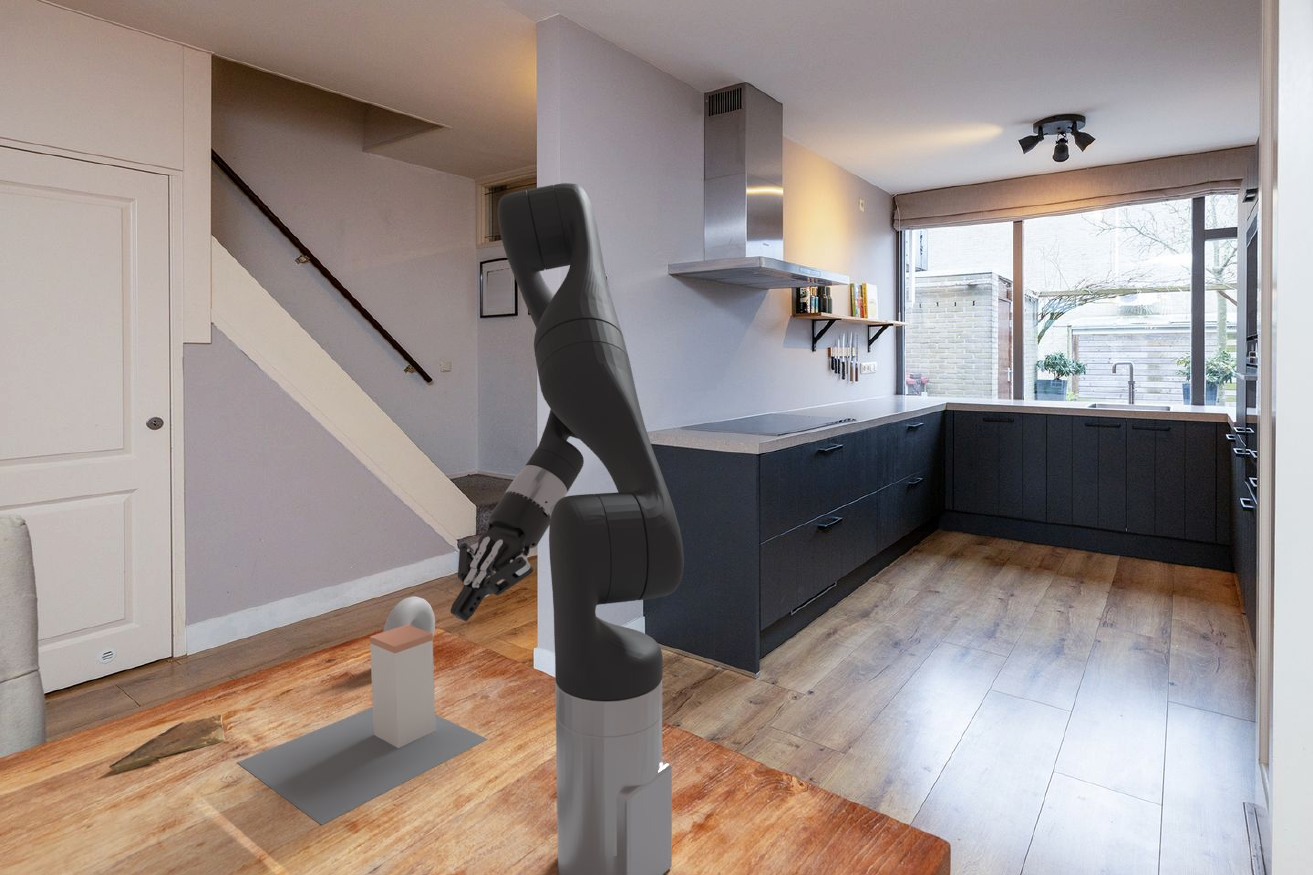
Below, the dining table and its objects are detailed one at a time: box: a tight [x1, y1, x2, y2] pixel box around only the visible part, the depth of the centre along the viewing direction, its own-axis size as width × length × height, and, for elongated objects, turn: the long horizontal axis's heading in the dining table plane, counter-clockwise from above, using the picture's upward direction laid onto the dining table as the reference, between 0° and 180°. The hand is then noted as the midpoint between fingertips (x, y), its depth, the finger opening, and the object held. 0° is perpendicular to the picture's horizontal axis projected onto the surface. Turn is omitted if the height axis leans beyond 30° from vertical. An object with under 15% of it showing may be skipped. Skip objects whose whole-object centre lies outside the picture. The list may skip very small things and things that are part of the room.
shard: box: [108, 713, 226, 774], centre depth 85 cm, size 11×8×2 cm
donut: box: [382, 595, 436, 636], centre depth 107 cm, size 10×4×10 cm, turn 162°
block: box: [369, 624, 436, 748], centre depth 86 cm, size 5×5×12 cm
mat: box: [236, 706, 489, 826], centre depth 83 cm, size 18×20×1 cm
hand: (458, 616), depth 92 cm, fingers closed
